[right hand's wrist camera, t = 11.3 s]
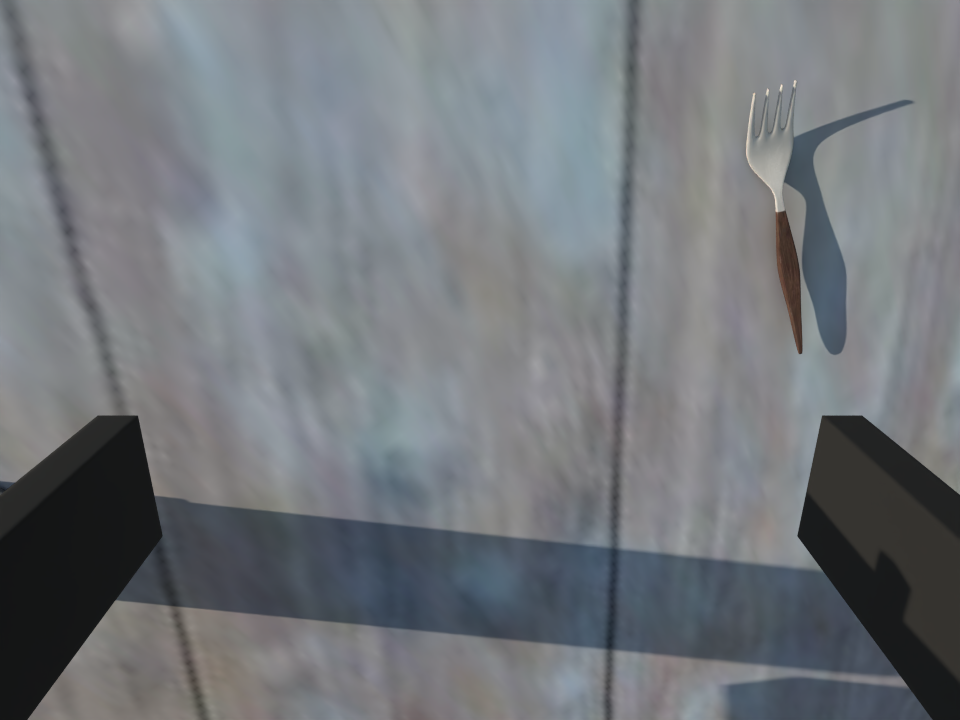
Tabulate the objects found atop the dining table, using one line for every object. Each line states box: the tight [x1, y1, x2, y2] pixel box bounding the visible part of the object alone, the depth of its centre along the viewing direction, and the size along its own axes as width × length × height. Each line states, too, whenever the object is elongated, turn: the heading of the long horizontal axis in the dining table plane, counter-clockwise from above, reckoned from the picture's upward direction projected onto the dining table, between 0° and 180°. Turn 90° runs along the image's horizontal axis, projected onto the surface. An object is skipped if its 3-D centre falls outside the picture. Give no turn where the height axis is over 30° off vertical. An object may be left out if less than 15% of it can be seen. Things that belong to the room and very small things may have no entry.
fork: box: [746, 80, 802, 354], centre depth 38 cm, size 3×16×2 cm, turn 16°
